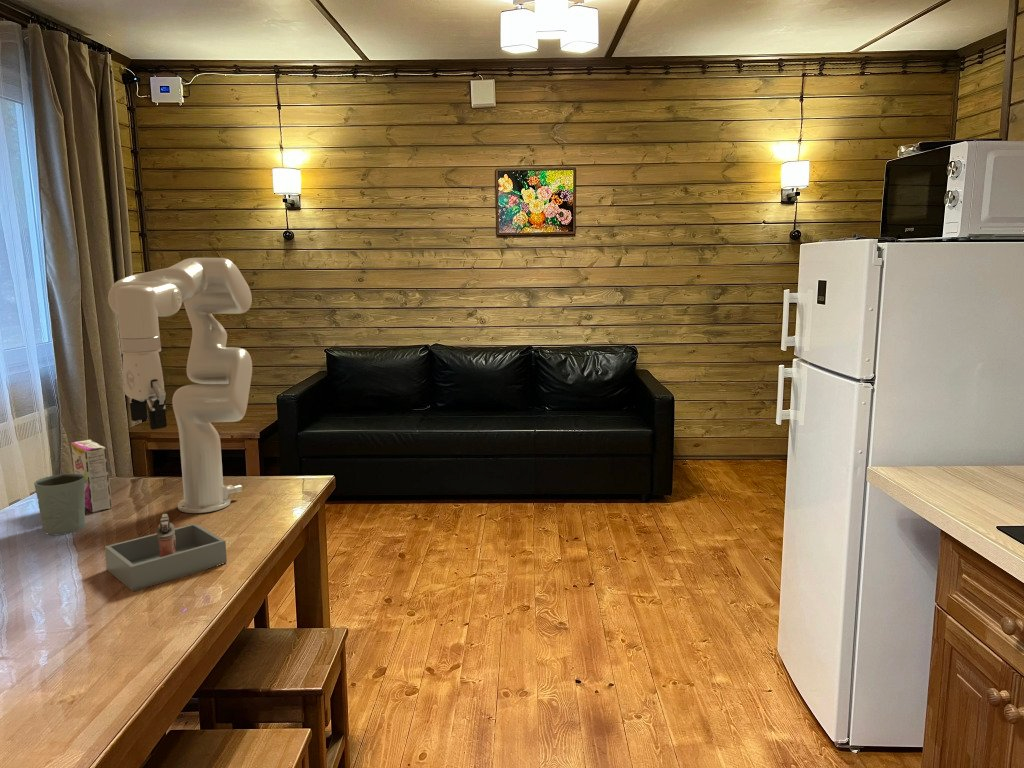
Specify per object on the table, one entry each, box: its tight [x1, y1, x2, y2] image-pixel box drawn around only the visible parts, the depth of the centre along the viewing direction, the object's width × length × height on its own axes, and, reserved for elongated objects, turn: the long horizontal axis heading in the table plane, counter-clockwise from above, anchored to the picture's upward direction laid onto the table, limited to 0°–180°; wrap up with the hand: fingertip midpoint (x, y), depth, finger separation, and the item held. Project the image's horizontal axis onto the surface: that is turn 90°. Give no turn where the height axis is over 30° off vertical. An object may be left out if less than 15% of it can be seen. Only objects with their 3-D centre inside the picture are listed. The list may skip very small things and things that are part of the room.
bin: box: [104, 523, 228, 592], centre depth 154 cm, size 19×15×5 cm
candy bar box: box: [70, 439, 112, 513], centre depth 190 cm, size 11×5×16 cm, turn 47°
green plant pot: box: [33, 473, 86, 535], centre depth 175 cm, size 10×10×12 cm
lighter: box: [156, 513, 176, 557], centre depth 153 cm, size 8×3×10 cm, turn 25°
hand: (149, 423), depth 159 cm, fingers open, 9 cm apart
